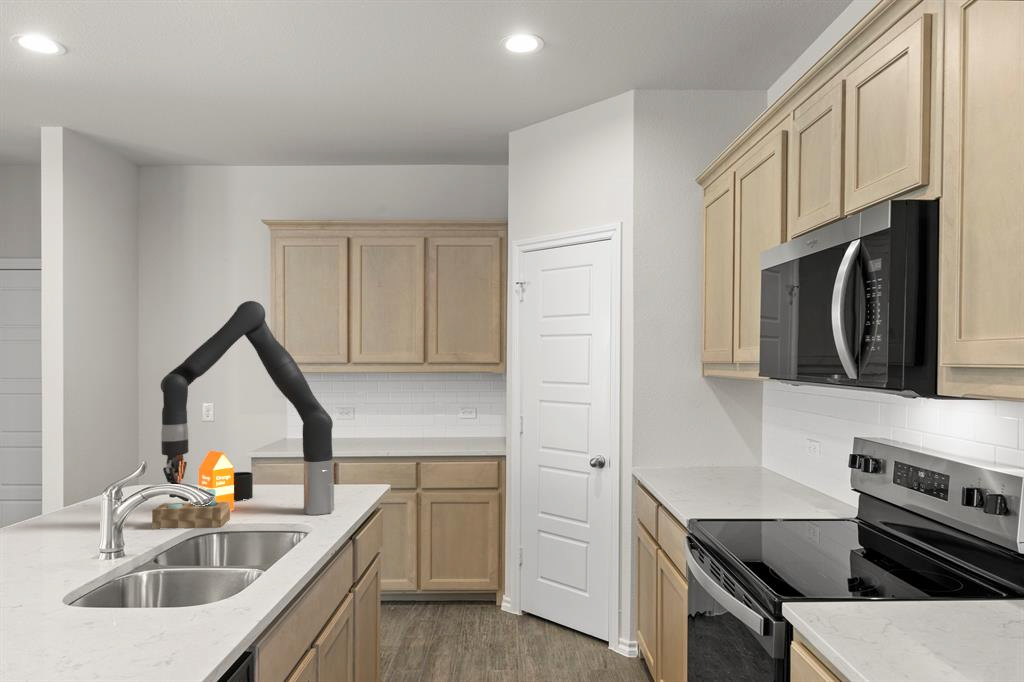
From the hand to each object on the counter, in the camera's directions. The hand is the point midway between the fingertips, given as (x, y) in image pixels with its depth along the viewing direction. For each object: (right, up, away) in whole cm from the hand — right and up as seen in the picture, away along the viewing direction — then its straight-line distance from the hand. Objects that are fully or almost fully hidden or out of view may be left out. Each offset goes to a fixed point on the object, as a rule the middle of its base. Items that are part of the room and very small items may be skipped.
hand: (175, 494), depth 217 cm
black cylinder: (+4, -10, +41) cm, 42 cm away
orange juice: (+4, -10, +20) cm, 23 cm away
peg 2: (+10, -5, +1) cm, 11 cm away
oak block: (+5, -9, 0) cm, 10 cm away
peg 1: (0, -9, 0) cm, 9 cm away
